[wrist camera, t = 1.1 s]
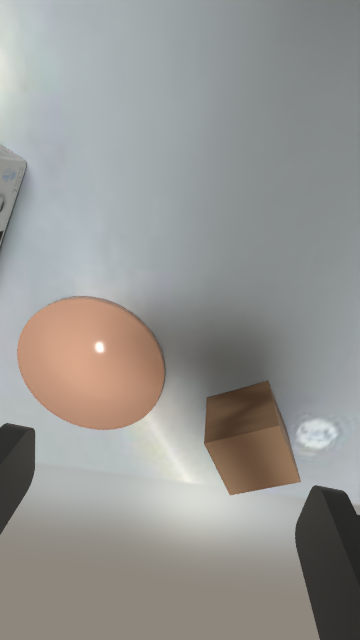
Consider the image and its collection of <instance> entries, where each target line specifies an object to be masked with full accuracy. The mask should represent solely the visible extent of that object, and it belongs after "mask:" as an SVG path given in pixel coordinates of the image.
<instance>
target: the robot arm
mask: <svg viewBox="0 0 360 640" xmlns="http://www.w3.org/2000/svg"><path fill="white" fill-rule="evenodd" d="M34 471H35V430H34V429H33V428H29V427H24V426H19V425H14V424H9V423H6V424H4V425H3V426H1V427H0V534H1V533H2V531H3V529H4V528H5V526H6V525H7V523H8V521H9V520H10V518H11V517H12V515H13V513H14V512H15V510H16V508H17V507H18V505H19V504H20V502H21V501H22V499H23V497H24V496H25V494H26V492H27V491H28V489H29V486H30V484H31V482H32V479H33V475H34ZM295 539H296V547H297V552H298V556H299V559H300V563H301V567H302V571H303V575H304V579H305V583H306V587H307V591H308V595H309V598H310V602H311V606H312V610H313V614H314V618H315V622H316V626H317V630H318V634H319V638H320V640H360V515H357V514H356V512H355V510H354V508H353V505H352V503H351V501H350V499H349V497H348V495H347V494H346V493H345V492H344V491H342V490H337V489H332V488H327V487H322V486H317V485H315V486H313V487H312V489H311V491H310V493H309V495H308V498H307V500H306V502H305V505H304V507H303V509H302V512H301V514H300V516H299V519H298V521H297V524H296V531H295Z"/></svg>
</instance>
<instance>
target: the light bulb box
mask: <svg viewBox="0 0 360 640" xmlns="http://www.w3.org/2000/svg"><path fill="white" fill-rule="evenodd" d="M26 166H27V163H26V162H25V160H23V159H22V158H20V157H19V156H17V155H16V154H14V153H13V152H11V151H9V150H8V149H6V148H5V147H3V146H2V145H0V245H1V242H2V239H3V236H4V233H5V230H6V227H7V224H8V221H9V218H10V215H11V212H12V209H13V206H14V203H15V200H16V197H17V194H18V191H19V188H20V185H21V182H22V179H23V175H24V172H25V169H26Z"/></svg>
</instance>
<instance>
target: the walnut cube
mask: <svg viewBox="0 0 360 640" xmlns="http://www.w3.org/2000/svg"><path fill="white" fill-rule="evenodd" d="M204 444H205V446H206V448H207V450H208V452H209V454H210V456H211V458H212V460H213V462H214V464H215V466H216V468H217V470H218V472H219V474H220V476H221V478H222V480H223V482H224V484H225V486H226V488H227V490H228V492H229V494H230V495H234V494H239V493H245V492H250V491H255V490H260V489H266V488H271V487H276V486H281V485H287V484H292V483H297V482H301V481H300V477H299V473H298V470H297V466H296V462H295V459H294V455H293V451H292V448H291V444H290V440H289V437H288V433H287V429H286V427H285V424H284V421H283V419H282V416H281V413H280V411H279V408H278V405H277V403H276V400H275V398H274V395H273V392H272V390H271V387H270V384H269V382H268V381H266V382H262V383H258V384H255V385H251V386H248V387H244V388H240V389H237V390H233V391H229V392H226V393H222V394H219V395H215V396H211V397H208V398H207V406H206V423H205V440H204Z"/></svg>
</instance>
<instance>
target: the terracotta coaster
mask: <svg viewBox="0 0 360 640" xmlns="http://www.w3.org/2000/svg"><path fill="white" fill-rule="evenodd" d="M17 356H18V364H19V369H20V372H21V375H22V377H23V379H24V382H25V384H26V385H27V387H28V389H29V390H30V392H31V393H32V394H33V395H34V397H35V398H36V399H37V400H38V401H39V402H40V403H41V404H42V405H43V406H44V407H45V408H46V409H48V410H49V411H50V412H52V413H53V414H55V415H56V416H58V417H59V418H61V419H63V420H65V421H67V422H70V423H72V424H75V425H78V426H81V427H85V428H90V429H97V430H109V429H117V428H122V427H125V426H128V425H131V424H133V423H135V422H137V421H139V420H140V419H142V418H143V417H145V416H146V415H147V414H148V413H149V412H150V411H151V410H152V408H153V407H154V406H155V404H156V402H157V401H158V399H159V396H160V394H161V391H162V387H163V383H164V378H165V364H164V358H163V354H162V351H161V349H160V346H159V344H158V342H157V340H156V338H155V337H154V335H153V334H152V332H151V331H150V330H149V328H148V327H147V326H146V325H145V324H144V323H143V322H142V321H141V320H140V319H139V318H138V317H136V316H135V315H134V314H133V313H131V312H130V311H128V310H127V309H125V308H123V307H121V306H119V305H117V304H115V303H113V302H110V301H107V300H104V299H100V298H95V297H86V296H78V297H69V298H64V299H61V300H58V301H55V302H53V303H51V304H49V305H47V306H46V307H44V308H43V309H42V310H40V311H39V312H37V313H36V314H35V315H34V316H33V317H32V318H31V319H30V320H29V321H28V322H27V324H26V325H25V327H24V328H23V330H22V333H21V335H20V338H19V342H18V349H17Z"/></svg>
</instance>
